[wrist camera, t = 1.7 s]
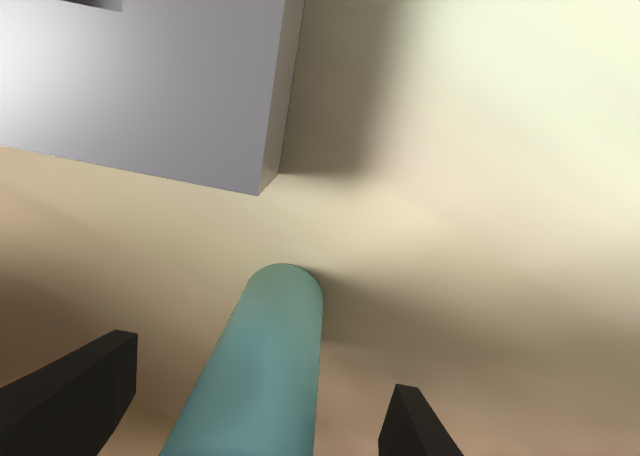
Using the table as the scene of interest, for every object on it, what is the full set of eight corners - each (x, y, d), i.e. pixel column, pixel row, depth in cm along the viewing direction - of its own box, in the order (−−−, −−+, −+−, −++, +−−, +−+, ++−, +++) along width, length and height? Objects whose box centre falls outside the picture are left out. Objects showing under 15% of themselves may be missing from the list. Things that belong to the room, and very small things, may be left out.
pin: (240, 326, 15) (141, 547, 7) (249, 256, 14) (146, 430, 6) (315, 340, 15) (293, 575, 8) (330, 272, 14) (322, 463, 6)
